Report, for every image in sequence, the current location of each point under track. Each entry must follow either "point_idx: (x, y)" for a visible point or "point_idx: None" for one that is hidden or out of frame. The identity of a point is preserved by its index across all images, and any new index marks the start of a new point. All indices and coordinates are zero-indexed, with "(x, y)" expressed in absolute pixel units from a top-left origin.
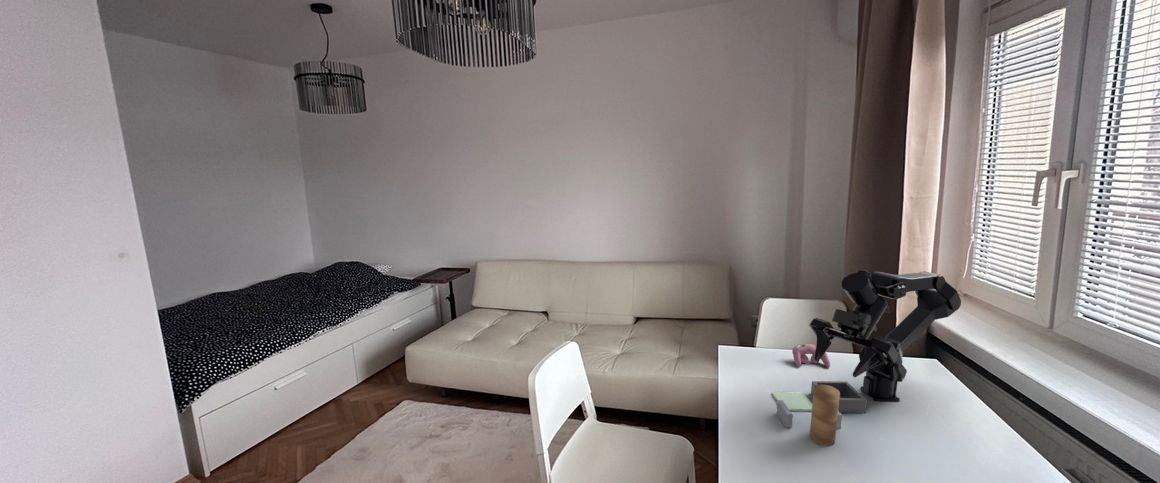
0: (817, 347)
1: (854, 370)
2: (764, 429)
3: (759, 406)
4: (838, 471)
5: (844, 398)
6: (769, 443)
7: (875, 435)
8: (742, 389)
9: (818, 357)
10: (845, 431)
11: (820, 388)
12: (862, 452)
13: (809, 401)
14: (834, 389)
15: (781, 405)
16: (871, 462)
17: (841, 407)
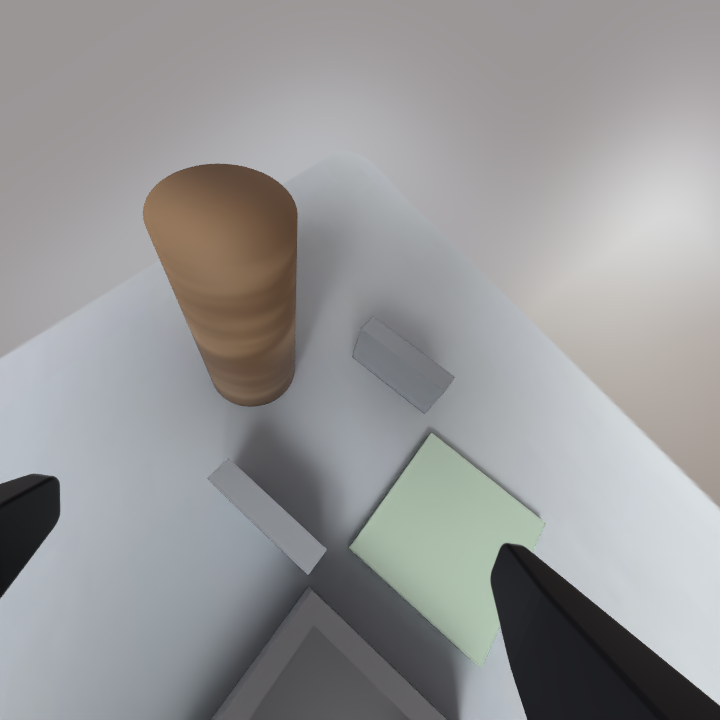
0: (672, 683)
1: (4, 503)
2: (398, 297)
3: (492, 396)
4: None
5: (249, 709)
6: (352, 255)
7: (72, 570)
8: (608, 456)
9: (514, 597)
10: (198, 486)
11: (260, 209)
12: (115, 395)
13: (407, 596)
14: (186, 242)
15: (421, 354)
16: (79, 362)
17: (258, 657)
